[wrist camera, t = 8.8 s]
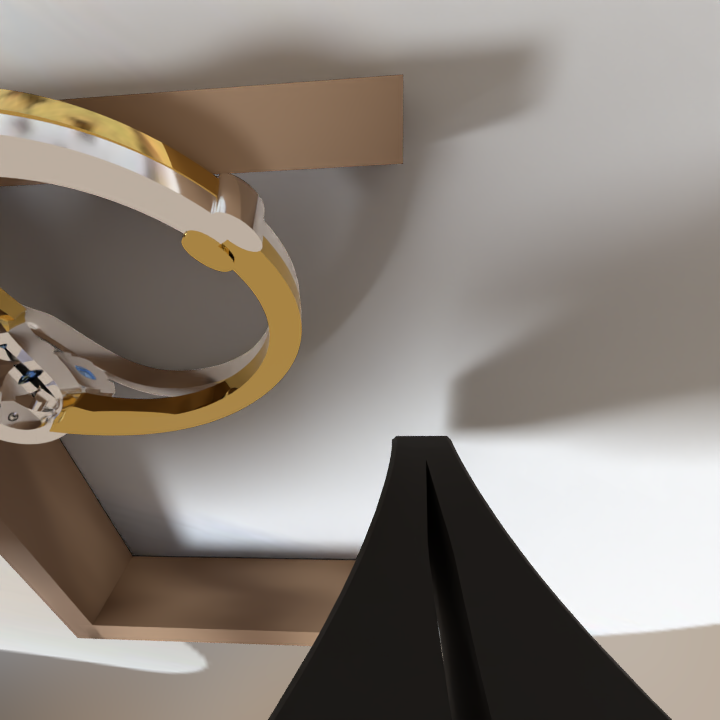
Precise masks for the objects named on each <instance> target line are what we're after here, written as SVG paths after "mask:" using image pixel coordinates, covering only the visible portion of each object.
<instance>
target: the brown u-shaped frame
mask: <svg viewBox="0 0 720 720" xmlns="http://www.w3.org/2000/svg"><path fill="white" fill-rule="evenodd" d="M58 101H61V102H65V103H68V104H72V105H75V106H78V107H81V108H84V109H87V110H90V111H92V112H95V113H98V114H101V115H103V116H106V117H108V118H111V119H113V120H116V121H118V122H120V123H123V124H125V125H127V126H130V127H132V128H134V129H136V130H138V131H140V132H142V133H144V134H146V135H148V136H150V137H152V138H154V139H156V140H158V141H160V142H162V143H164V144H165V145H167V146H169V147H171V148H173V149H174V150H176V151H178V152H179V153H181V154H183V155H184V156H186V157H188V158H189V159H191V160H192V161H194V162H195V163H197V164H199V165H200V166H202V167H203V168H204V169H206V170H207V171H209V172H210V173H212V174H222V173H228V174H229V173H246V172H264V171H282V170H299V169H317V168H335V167H352V166H370V165H387V164H403V75H390V76H376V77H363V78H349V79H336V80H322V81H308V82H295V83H281V84H267V85H254V86H240V87H227V88H213V89H199V90H186V91H172V92H159V93H145V94H131V95H118V96H104V97H90V98H77V99H63V100H58ZM35 184H49V183H44V182H39V181H32V180H26V179H18V178H8V177H0V186H17V185H35ZM13 367H14V366H13V365H0V378H1V377H2V376H3V375H5V374H6V373H7V372H8V371H10V370H11V369H12V368H13ZM32 400H33V396H32V395H29V396H27V397H25V398H22V399H18V400H14V401H15V402H16V403H18V404H20V405H22V406H24V407H26V408H28V407H29V406H30V404H31V402H32ZM0 555H1V556H2V557H3V558H4V559H5V560H6V561H7V562H8V563H9V564H10V566H11V567H12V568H13V569H14V570H15V571H16V572H17V573H18V574H19V575H20V576H21V577H22V578H23V579H24V581H25V582H26V583H27V584H28V585H29V586H30V587H31V588H32V589H33V590H34V591H35V592H36V593H37V595H38V596H39V597H40V598H41V599H42V600H43V601H44V602H45V603H46V604H47V605H48V606H49V607H50V608H51V610H52V611H53V612H54V613H55V614H56V615H57V616H58V617H59V618H60V619H61V620H62V621H63V622H64V624H65V625H66V626H67V627H68V628H69V629H70V630H71V631H72V632H73V633H74V634H75V635H76V636H77V638H93V639H122V640H151V641H181V642H210V643H240V644H242V643H243V644H270V645H297V646H312V645H313V644H314V642H315V640H316V638H317V636H318V635H319V633H320V631H321V629H322V627H323V625H324V623H325V622H326V620H327V618H328V616H329V614H330V612H331V610H332V608H333V606H334V604H335V602H336V600H337V599H338V597H339V595H340V593H341V591H342V589H343V586H344V584H345V582H346V580H347V578H348V576H349V574H350V572H351V570H352V567H353V565H354V563H355V561H356V560H312V559H256V558H200V557H143V556H132V555H131V553H130V551H129V550H128V548H127V547H126V545H125V543H124V542H123V540H122V539H121V537H120V535H119V534H118V532H117V531H116V529H115V527H114V526H113V524H112V523H111V521H110V519H109V518H108V516H107V515H106V513H105V511H104V510H103V508H102V507H101V505H100V503H99V502H98V500H97V499H96V497H95V495H94V494H93V492H92V491H91V489H90V487H89V486H88V484H87V483H86V481H85V479H84V478H83V476H82V475H81V473H80V471H79V470H78V468H77V467H76V465H75V463H74V462H73V460H72V459H71V457H70V455H69V454H68V452H67V451H66V449H65V447H64V446H63V444H62V443H61V441H60V439H59V438H58V439H56V440H53V441H50V442H46V443H40V444H18V443H12V442H7V441H3V440H0Z"/></svg>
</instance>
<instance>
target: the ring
mask: <svg viewBox="0 0 720 720" xmlns="http://www.w3.org/2000/svg"><path fill="white" fill-rule="evenodd" d="M0 177H8V178H18V179H26V180H32V181H39V182H44V183H49V184H54V185H59V186H63V187H68V188H72V189H76V190H79V191H83V192H86V193H90V194H93V195H96V196H99V197H102V198H105V199H108V200H111V201H114V202H117V203H119V204H122V205H125V206H127V207H130V208H132V209H135V210H137V211H139V212H142V213H144V214H146V215H148V216H151V217H153V218H155V219H157V220H159V221H161V222H163V223H165V224H167V225H169V226H171V227H173V228H174V229H176V230H178V231H180V232H182V233H183V236H182V241H181V243H182V246H183V248H184V249H185V250H186V251H187V253H188V254H190V255H191V256H192V257H193V258H194V259H196V260H197V261H199V262H200V263H202V264H204V265H205V266H207V267H209V268H212V269H214V270H217V271H222V272H228V271H231V270H233V271H234V272H235V273H236V274H237V275H238V276H239V277H240V278H241V279H242V280H243V281H244V282H245V283H246V284H247V285H248V286H249V288H250V289H251V290H252V291H253V293H254V294H255V296H256V297H257V299H258V300H259V302H260V304H261V305H262V307H263V309H264V312H265V314H266V317H267V320H268V328H267V330H266V332H265V333H264V335H263V337H262V338H261V339H260V340H259V342H258V343H257V344H256V345H255V346H254V347H253V348H251V349H250V350H249V351H248V352H246V353H245V354H243V355H241V356H239V357H238V358H236V359H233V360H231V361H229V362H226V363H223V364H220V365H216V366H212V367H207V368H202V369H195V370H182V371H175V370H162V369H156V368H151V367H147V366H143V365H140V364H137V363H135V362H132V361H130V360H127V359H125V358H123V357H121V356H119V355H117V354H115V353H113V352H111V351H109V350H108V349H106V348H104V347H102V346H101V345H99V344H97V343H96V342H94V341H92V340H91V339H89V338H88V337H86V336H84V335H83V334H81V333H80V332H78V331H77V330H75V329H74V328H72V327H71V326H69V325H68V324H66V323H64V322H63V321H61V320H59V319H58V318H56V317H54V316H52V315H50V314H48V313H46V312H43V311H39V310H35V309H33V308H31V307H28V306H26V305H23V304H20V303H18V302H17V301H16V300H15V299H14V298H12V297H11V296H10V295H9V294H8V293H6V292H5V291H4V290H3V289H2V288H0V365H14V364H16V366H15V367H13V368H12V369H11V370H10V371H8V372H7V373H6V374H5V375H3V376H2V377H1V378H0V440H3V441H7V442H12V443H18V444H40V443H46V442H50V441H53V440H56V439H58V438H60V437H62V436H64V435H66V434H67V433H68V434H82V435H143V434H154V433H163V432H170V431H176V430H182V429H187V428H191V427H195V426H199V425H203V424H206V423H209V422H213V421H215V420H218V419H221V418H224V417H226V416H228V415H231V414H233V413H235V412H237V411H239V410H241V409H243V408H245V407H247V406H248V405H250V404H252V403H253V402H255V401H256V400H258V399H259V398H261V397H262V396H263V395H265V394H266V393H267V392H269V391H270V390H271V389H272V388H273V387H274V386H275V385H276V384H277V383H278V382H279V381H280V380H281V379H282V378H283V377H284V375H285V374H286V373H287V372H288V370H289V369H290V367H291V365H292V364H293V362H294V360H295V358H296V356H297V353H298V350H299V347H300V342H301V335H302V311H301V301H300V291H299V283H298V278H297V275H296V271H295V269H294V266H293V263H292V261H291V259H290V257H289V255H288V253H287V251H286V249H285V248H284V246H283V244H282V243H281V241H280V240H279V238H278V237H277V235H276V234H275V233H274V231H273V230H272V229H271V228H270V226H269V225H268V224H267V223H266V222H265V220H264V211H265V206H264V203H263V201H262V199H261V197H260V196H259V195H258V193H257V192H256V191H255V190H254V189H253V188H252V187H251V186H250V185H249V184H247V183H246V182H245V181H243V180H242V179H240V178H238V177H236V176H234V175H232V174H228V173H222V174H220V175H219V177H218V178H217V177H216V176H214V175H213V174H212V173H210V172H209V171H207V170H206V169H204V168H203V167H202V166H200V165H199V164H197V163H195V162H194V161H192V160H191V159H189V158H188V157H186V156H184V155H183V154H181V153H179V152H178V151H176V150H174V149H173V148H171V147H169V146H167V145H165V144H164V143H162V142H160V141H158V140H156V139H154V138H152V137H150V136H148V135H146V134H144V133H142V132H140V131H138V130H136V129H134V128H132V127H130V126H127V125H125V124H123V123H120V122H118V121H116V120H113V119H111V118H108V117H106V116H103V115H101V114H98V113H95V112H92V111H90V110H87V109H84V108H81V107H78V106H75V105H72V104H68V103H65V102H61V101H58V100H54V99H50V98H46V97H42V96H38V95H33V94H29V93H23V92H18V91H12V90H5V89H0ZM36 335H37V336H38V337H40V338H42V339H44V340H46V341H47V342H49V343H51V344H52V345H54V346H55V347H57V348H58V349H60V350H61V351H63V352H54V353H53V351H54V350H55V348H54V347H53V346H51V345H50V344H49V343H47V342H45V341H44V340H40V339H39V338H38V337H37V336H36ZM108 379H110V380H112V381H109V380H108ZM113 381H114V382H117V383H119V384H121V385H124V386H126V387H129V388H132V389H135V390H138V391H141V392H145V393H149V394H154V395H160V396H169V397H168V398H158V399H128V398H116V397H113V396H114V394H115V393H116V390H115V386H114V383H113ZM36 390H37V391H36ZM35 391H36V394H35V396H34V398H33V400H32V402H31V404H30V406H29V407H28V408H26V407H24V406H22V405H20V404H18V403H16V402H15V401H14V400H18V399H22V398H25V397H27V396H29V395H31V394H32V393H34V392H35ZM45 408H48V409H54V410H53V411H50V412H43V410H44V409H45Z"/></svg>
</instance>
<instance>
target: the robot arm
mask: <svg viewBox="0 0 720 720" xmlns="http://www.w3.org/2000/svg"><path fill="white" fill-rule="evenodd" d="M437 621H438V622H437ZM438 627H439V629H438ZM439 632H440V636H439ZM440 640H441V643H440ZM441 647H442V650H441ZM442 654H443V657H442ZM443 663H444V664H443ZM268 720H672V719H671V718H670V717H669V716H668V715H667V714H666V713H665V712H664V711H663V710H662V709H661V708H660V707H659V706H658V705H657V704H656V703H655V702H654V701H652V699H651V698H650V697H649V696H648V695H647V694H646V693H645V692H644V691H643V690H642V689H641V688H640V687H639V686H638V685H637V684H636V683H635V682H634V680H633V679H631V677H630V676H629V675H628V674H627V673H626V672H625V671H624V670H623V669H622V668H621V667H620V666H619V665H618V664H617V662H616V661H615V660H614V659H613V658H612V657H611V656H610V655H609V654H608V653H607V652H606V651H605V650H604V649H603V648H602V647H601V646H600V645H599V644H598V642H597V641H596V640H595V639H594V638H593V637H592V636H591V635H590V634H589V633H588V632H587V630H586V629H585V628H584V627H583V626H582V625H581V624H580V622H579V621H578V620H577V619H576V618H575V617H574V616H573V614H572V613H571V612H570V611H569V610H568V609H567V608H566V606H565V605H564V604H563V603H562V602H561V601H560V600H559V598H558V597H557V596H556V595H555V593H554V592H553V591H552V590H551V589H550V587H549V586H548V585H547V584H546V583H545V581H544V580H543V579H542V578H541V577H540V575H539V574H538V573H537V571H536V570H535V569H534V568H533V566H532V565H531V564H530V563H529V561H528V560H527V559H526V557H525V556H524V555H523V553H522V552H521V551H520V549H519V548H518V547H517V545H516V544H515V543H514V541H513V540H512V539H511V537H510V536H509V534H508V533H507V532H506V530H505V529H504V528H503V526H502V525H501V523H500V522H499V520H498V519H497V517H496V516H495V514H494V513H493V511H492V510H491V508H490V507H489V505H488V504H487V502H486V501H485V499H484V498H483V496H482V495H481V493H480V492H479V490H478V488H477V487H476V485H475V484H474V482H473V480H472V479H471V477H470V475H469V473H468V472H467V470H466V468H465V467H464V465H463V463H462V461H461V459H460V457H459V456H458V454H457V452H456V450H455V448H454V446H453V443H452V441H451V439H449V438H448V437H447V436H396V437H395V438H394V439H392V451H391V458H390V463H389V468H388V472H387V475H386V479H385V483H384V486H383V489H382V493H381V496H380V499H379V502H378V505H377V508H376V511H375V514H374V517H373V519H372V522H371V524H370V527H369V529H368V532H367V534H366V537H365V540H364V542H363V545H362V547H361V549H360V552H359V554H358V556H357V559H356V561H355V563H354V565H353V567H352V570H351V572H350V574H349V576H348V578H347V580H346V582H345V584H344V586H343V589H342V591H341V593H340V595H339V597H338V599H337V600H336V602H335V604H334V606H333V608H332V610H331V612H330V614H329V616H328V618H327V620H326V622H325V623H324V625H323V627H322V629H321V631H320V633H319V635H318V636H317V638H316V640H315V642H314V644H313V645H312V647H311V649H310V651H309V653H308V654H307V656H306V658H305V659H304V661H303V662H302V664H301V666H300V668H299V669H298V671H297V673H296V674H295V676H294V678H293V679H292V681H291V683H290V684H289V686H288V688H287V689H286V691H285V693H284V694H283V696H282V698H281V699H280V701H279V703H278V704H277V706H276V708H275V709H274V711H273V713H272V714H271V716H270V717H269V719H268Z"/></svg>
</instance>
